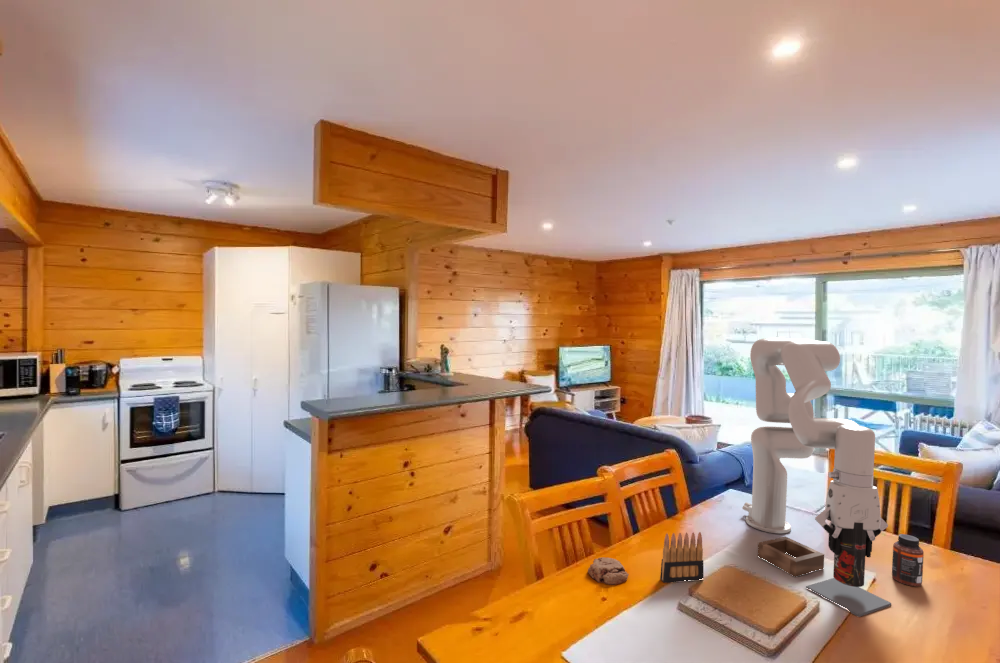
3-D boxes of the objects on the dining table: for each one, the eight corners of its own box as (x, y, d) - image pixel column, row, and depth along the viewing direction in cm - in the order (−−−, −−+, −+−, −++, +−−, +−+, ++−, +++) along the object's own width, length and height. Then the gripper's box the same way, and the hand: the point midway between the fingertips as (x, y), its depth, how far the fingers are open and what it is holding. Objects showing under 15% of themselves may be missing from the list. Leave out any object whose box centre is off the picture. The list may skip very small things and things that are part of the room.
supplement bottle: (928, 589, 119) (930, 544, 119) (900, 586, 120) (902, 541, 120) (912, 576, 125) (914, 533, 125) (886, 573, 126) (888, 530, 126)
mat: (805, 588, 118) (806, 586, 118) (837, 579, 123) (837, 576, 123) (858, 617, 107) (858, 614, 107) (891, 605, 112) (891, 603, 112)
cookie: (622, 564, 128) (622, 553, 128) (632, 587, 117) (632, 575, 117) (584, 563, 128) (584, 552, 128) (591, 585, 118) (591, 573, 117)
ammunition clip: (663, 583, 119) (665, 535, 119) (660, 579, 121) (661, 531, 120) (703, 580, 121) (705, 533, 120) (699, 576, 122) (701, 530, 122)
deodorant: (870, 585, 112) (873, 522, 112) (849, 587, 111) (852, 523, 111) (847, 572, 118) (850, 512, 118) (827, 574, 117) (829, 513, 116)
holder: (757, 556, 133) (757, 542, 133) (784, 550, 138) (785, 536, 137) (795, 577, 123) (796, 561, 123) (823, 569, 127) (824, 554, 127)
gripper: (822, 481, 111) (819, 558, 112) (904, 486, 109) (900, 564, 110) (806, 471, 119) (802, 543, 119) (882, 475, 117) (878, 549, 117)
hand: (849, 552), depth 114 cm, fingers closed on deodorant, 6 cm apart
